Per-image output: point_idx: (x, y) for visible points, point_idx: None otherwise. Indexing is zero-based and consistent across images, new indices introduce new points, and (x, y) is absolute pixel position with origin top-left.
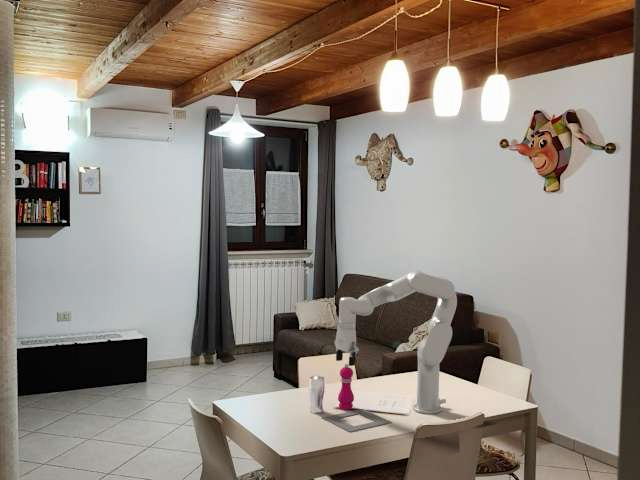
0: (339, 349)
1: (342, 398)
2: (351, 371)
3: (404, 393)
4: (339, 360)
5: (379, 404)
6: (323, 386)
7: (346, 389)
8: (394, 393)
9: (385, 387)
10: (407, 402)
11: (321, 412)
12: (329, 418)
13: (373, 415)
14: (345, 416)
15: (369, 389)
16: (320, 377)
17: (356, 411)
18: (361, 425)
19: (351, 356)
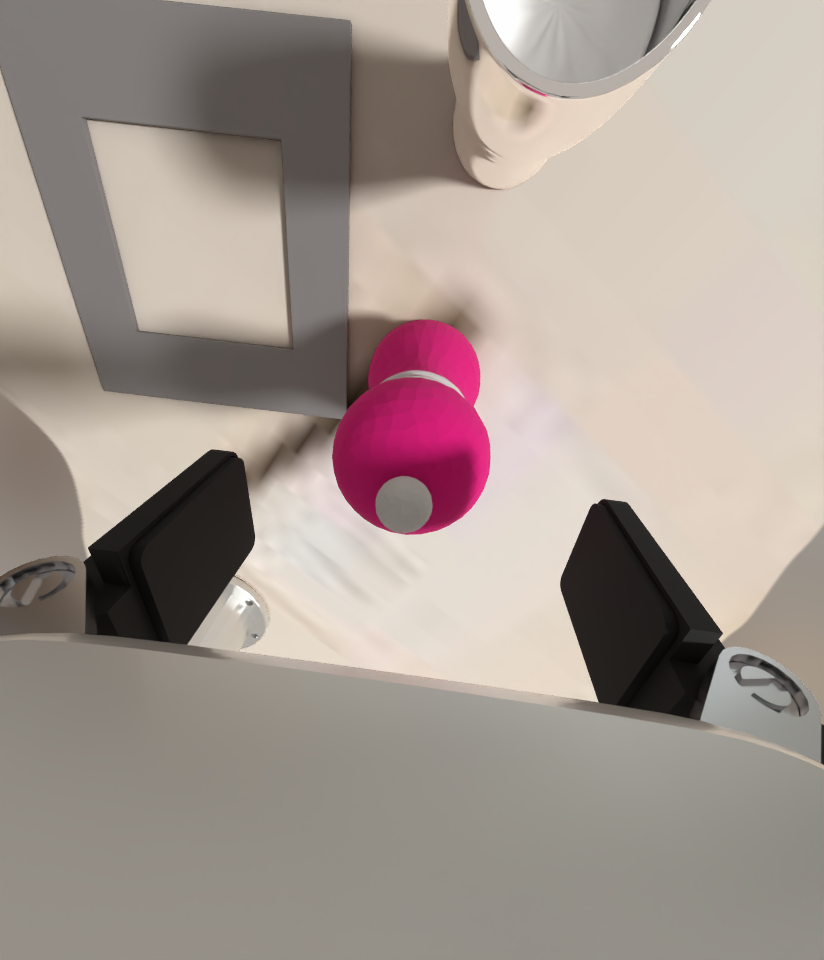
0: (523, 694)
1: (402, 327)
2: (338, 485)
3: (417, 672)
4: (582, 544)
5: (367, 530)
6: (452, 47)
7: (388, 377)
8: (441, 654)
9: (521, 678)
10: (325, 616)
11: (453, 131)
12: (295, 65)
13: (226, 386)
14: (287, 231)
15: (553, 631)
16: (611, 85)
17: (326, 358)
18: (83, 184)
19: (16, 568)
